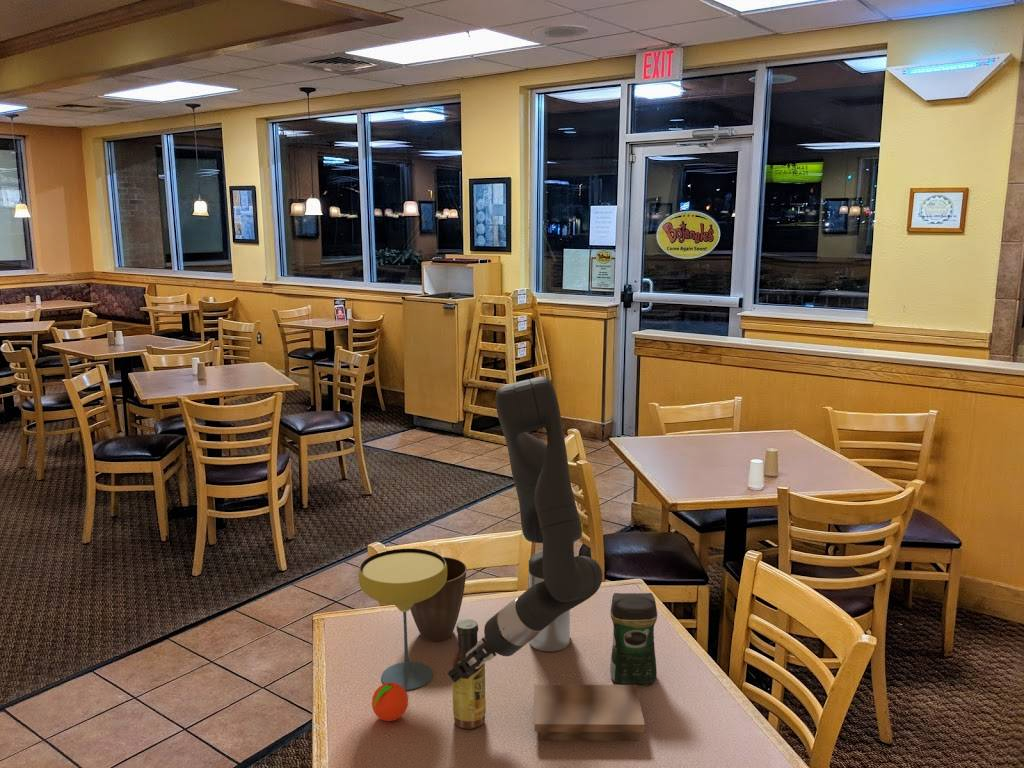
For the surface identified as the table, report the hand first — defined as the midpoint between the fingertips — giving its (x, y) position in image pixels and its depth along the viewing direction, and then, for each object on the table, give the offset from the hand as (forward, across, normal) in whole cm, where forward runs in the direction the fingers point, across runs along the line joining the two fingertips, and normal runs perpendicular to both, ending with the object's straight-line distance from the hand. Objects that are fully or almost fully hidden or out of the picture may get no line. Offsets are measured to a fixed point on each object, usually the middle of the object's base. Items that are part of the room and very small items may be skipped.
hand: (461, 668), depth 154 cm
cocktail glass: (+20, -7, -6) cm, 22 cm away
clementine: (+16, +7, -1) cm, 18 cm away
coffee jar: (-9, -29, +24) cm, 39 cm away
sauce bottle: (+6, 0, +9) cm, 11 cm away
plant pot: (+24, -25, -9) cm, 36 cm away
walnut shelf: (-8, -10, +23) cm, 26 cm away
